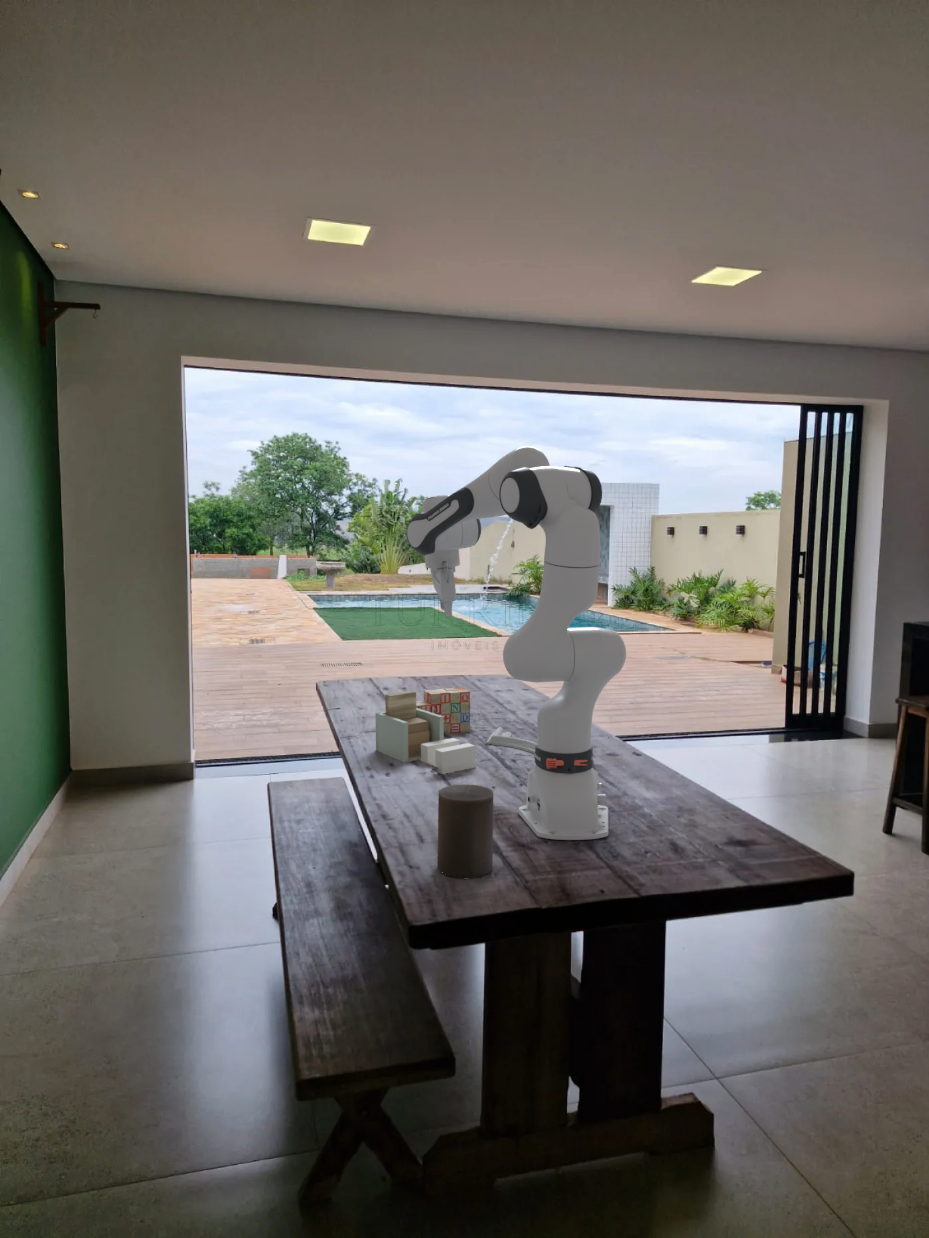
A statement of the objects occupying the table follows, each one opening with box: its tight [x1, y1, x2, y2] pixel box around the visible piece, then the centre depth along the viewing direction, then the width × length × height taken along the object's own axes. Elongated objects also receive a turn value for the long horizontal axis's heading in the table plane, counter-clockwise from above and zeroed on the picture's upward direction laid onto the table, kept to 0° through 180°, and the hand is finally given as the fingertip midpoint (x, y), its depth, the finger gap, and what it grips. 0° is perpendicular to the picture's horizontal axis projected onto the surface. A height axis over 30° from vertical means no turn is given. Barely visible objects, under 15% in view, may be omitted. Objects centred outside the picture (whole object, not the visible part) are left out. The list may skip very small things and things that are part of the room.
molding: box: [485, 726, 595, 766], centre depth 219 cm, size 42×12×3 cm, turn 34°
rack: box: [375, 708, 445, 763], centre depth 214 cm, size 14×12×11 cm
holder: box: [419, 737, 477, 775], centre depth 205 cm, size 10×10×6 cm
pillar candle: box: [437, 783, 494, 879], centre depth 143 cm, size 10×10×15 cm
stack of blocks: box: [416, 687, 471, 734], centre depth 240 cm, size 21×6×12 cm, turn 111°
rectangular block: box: [384, 690, 417, 720], centre depth 217 cm, size 2×8×15 cm, turn 127°
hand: (446, 612), depth 212 cm, fingers open, 8 cm apart
